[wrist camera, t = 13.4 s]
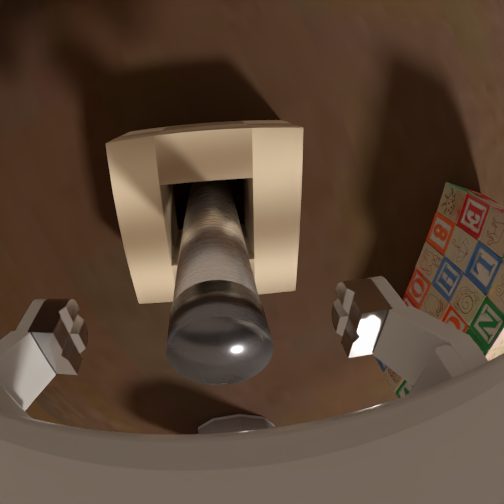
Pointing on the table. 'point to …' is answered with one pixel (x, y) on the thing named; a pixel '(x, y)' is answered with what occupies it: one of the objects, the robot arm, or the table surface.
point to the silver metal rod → (216, 295)
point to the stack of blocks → (461, 273)
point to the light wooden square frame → (208, 169)
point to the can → (234, 424)
